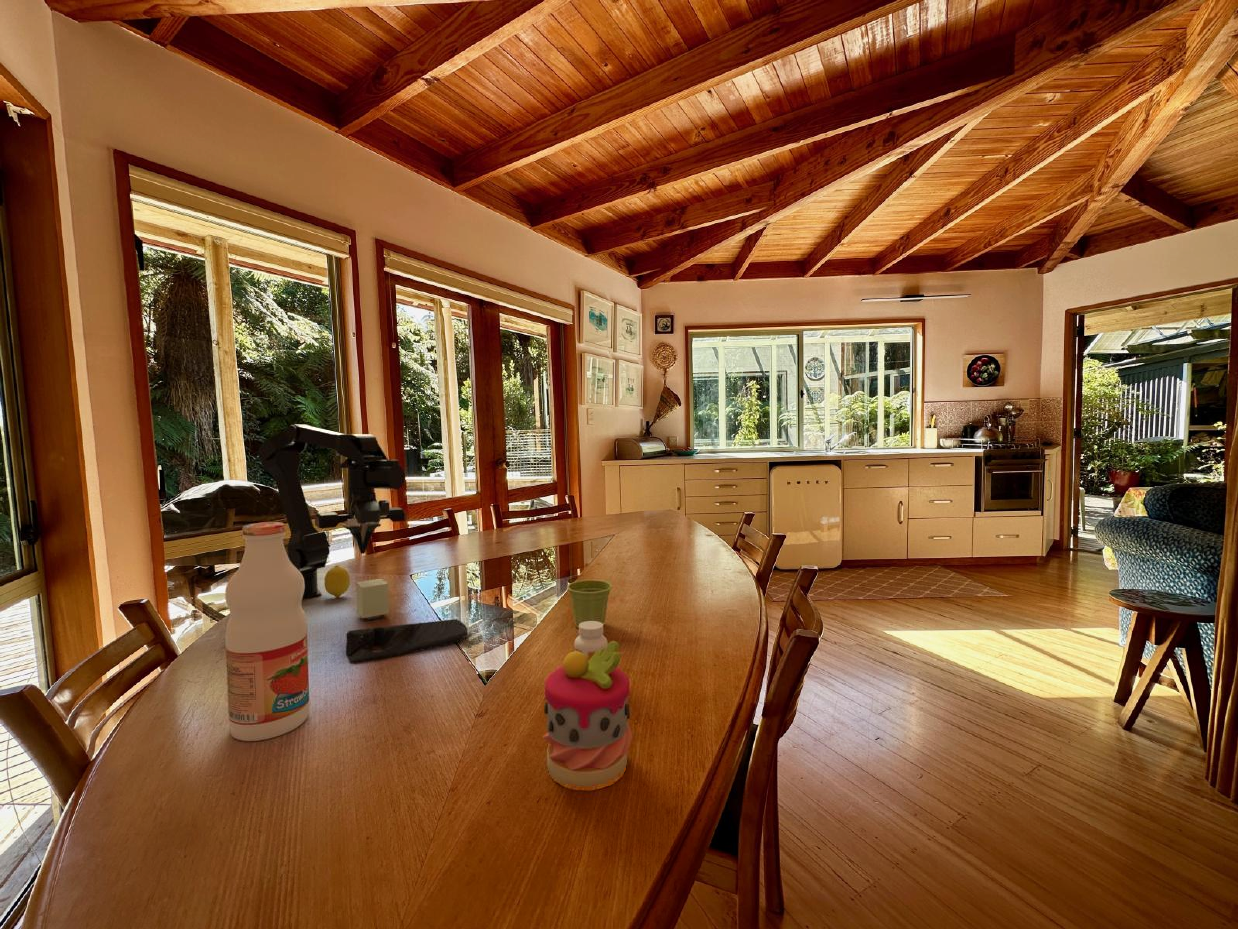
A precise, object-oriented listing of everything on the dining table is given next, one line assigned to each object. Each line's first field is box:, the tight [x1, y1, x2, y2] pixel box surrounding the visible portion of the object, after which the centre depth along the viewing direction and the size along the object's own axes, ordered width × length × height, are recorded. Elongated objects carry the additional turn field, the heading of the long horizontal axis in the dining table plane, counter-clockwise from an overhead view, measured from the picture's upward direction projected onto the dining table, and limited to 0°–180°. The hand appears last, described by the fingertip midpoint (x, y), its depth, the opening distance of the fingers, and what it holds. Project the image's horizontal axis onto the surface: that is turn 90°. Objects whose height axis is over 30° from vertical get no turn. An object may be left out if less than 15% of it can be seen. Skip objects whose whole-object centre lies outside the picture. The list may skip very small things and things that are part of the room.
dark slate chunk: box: [345, 618, 469, 664], centre depth 104 cm, size 15×22×5 cm
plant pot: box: [567, 579, 613, 626], centre depth 113 cm, size 9×9×9 cm
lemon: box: [324, 565, 351, 599], centre depth 131 cm, size 6×6×8 cm
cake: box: [541, 640, 633, 787], centre depth 65 cm, size 10×11×15 cm
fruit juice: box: [224, 521, 310, 742], centre depth 74 cm, size 9×9×28 cm
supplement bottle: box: [573, 621, 609, 661], centre depth 87 cm, size 5×5×10 cm
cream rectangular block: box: [356, 578, 390, 619], centre depth 117 cm, size 5×5×7 cm
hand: (362, 553), depth 127 cm, fingers closed
